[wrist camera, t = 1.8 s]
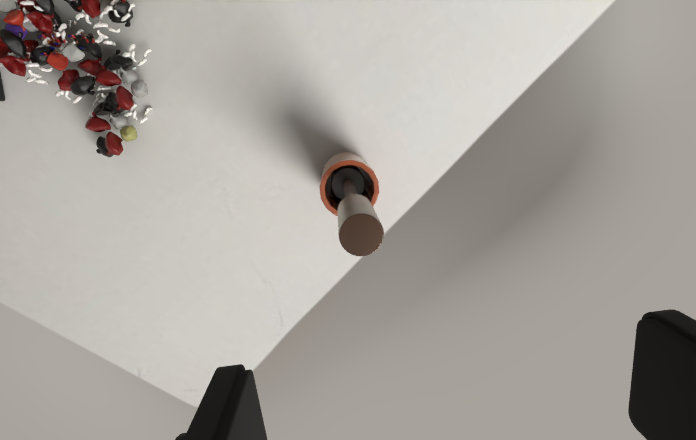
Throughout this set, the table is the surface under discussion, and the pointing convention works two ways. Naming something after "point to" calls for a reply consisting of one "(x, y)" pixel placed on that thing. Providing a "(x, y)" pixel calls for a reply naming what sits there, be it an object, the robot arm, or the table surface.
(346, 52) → the table surface
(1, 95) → the black stepped block
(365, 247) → the brush
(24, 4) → the toy collection
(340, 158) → the holder
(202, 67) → the table surface
